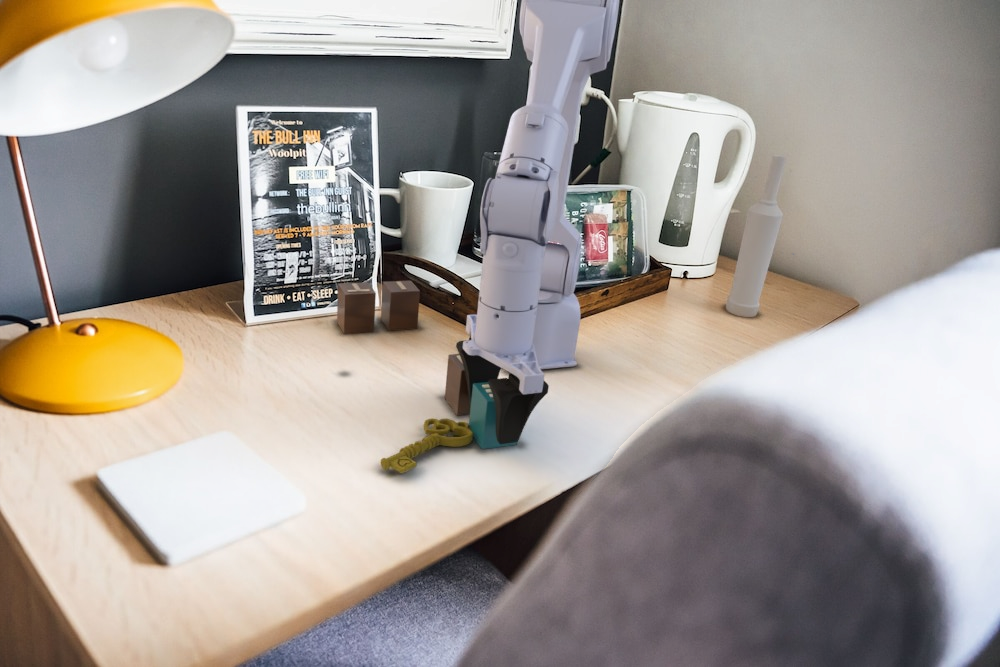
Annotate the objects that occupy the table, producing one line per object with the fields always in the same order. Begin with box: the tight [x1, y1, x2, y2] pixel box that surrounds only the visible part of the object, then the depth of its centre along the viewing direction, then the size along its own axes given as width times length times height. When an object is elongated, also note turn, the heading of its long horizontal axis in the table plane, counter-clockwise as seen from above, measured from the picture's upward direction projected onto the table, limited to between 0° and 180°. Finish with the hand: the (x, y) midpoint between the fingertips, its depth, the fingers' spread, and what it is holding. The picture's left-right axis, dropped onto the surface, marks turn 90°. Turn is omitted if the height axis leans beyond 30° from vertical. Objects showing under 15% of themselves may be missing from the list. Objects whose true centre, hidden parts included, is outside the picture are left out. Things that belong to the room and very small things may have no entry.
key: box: [380, 418, 474, 474], centre depth 77 cm, size 12×1×5 cm
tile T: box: [336, 281, 377, 335], centre depth 101 cm, size 4×4×6 cm
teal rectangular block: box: [468, 382, 519, 450], centre depth 79 cm, size 4×4×6 cm
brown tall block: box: [444, 353, 471, 416], centre depth 85 cm, size 4×4×6 cm
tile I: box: [380, 280, 421, 332], centre depth 103 cm, size 4×4×6 cm
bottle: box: [725, 154, 788, 318], centre depth 119 cm, size 5×5×25 cm
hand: (493, 423), depth 79 cm, fingers open, 7 cm apart
